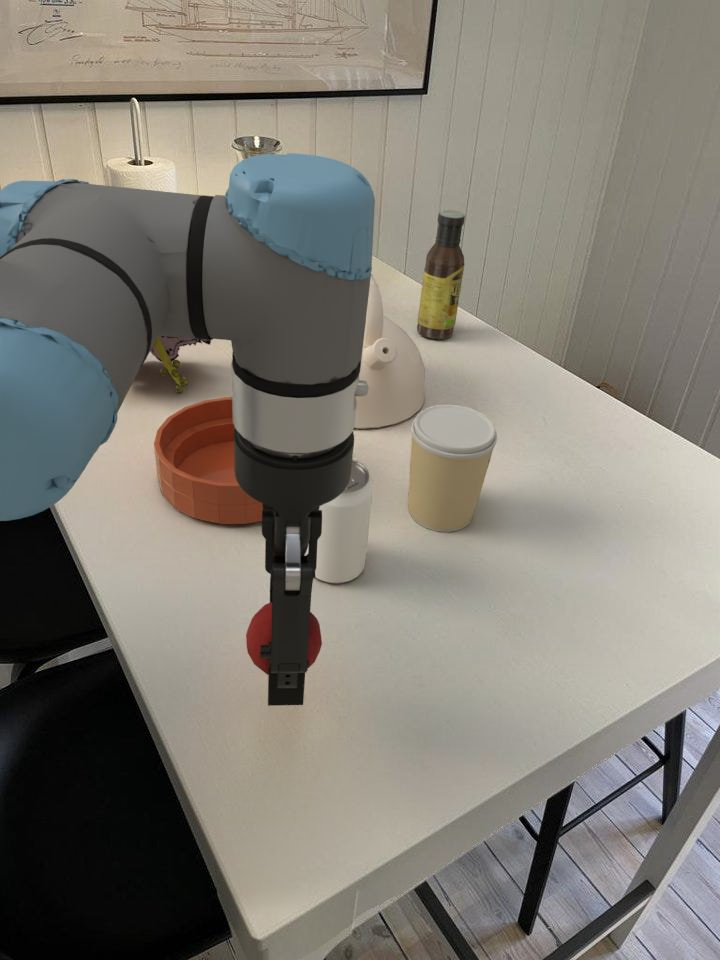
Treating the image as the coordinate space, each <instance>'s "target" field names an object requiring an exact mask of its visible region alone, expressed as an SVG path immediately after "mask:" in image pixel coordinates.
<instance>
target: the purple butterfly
mask: <svg viewBox="0 0 720 960" xmlns="http://www.w3.org/2000/svg"><path fill="white" fill-rule="evenodd" d="M198 343H199V344H203V343H204V344H205V345H207V346H210V345H211V344H212V340H205V339H191V338H179V337H168V336H158V338H157V339H156V341H155V343H154V345H153V347H152V349H151V350H150V352H149V353H151V355H152V356H154V357H155V358H156V359H157V360H158V361H159V362H160V363H162V365H163V366H164V368H161V369H160V375H161V376H162V377H167V376H168V374H170V376H171V377H172V379H173V381H174V382H175V383H176V384H177V386H175V392H176V393H177V394H181V393H183V392H184V387H186V386H187V385H188V384H189V380H188V379H187V378H186V377H185V378H184V376H183V374H181V373H180V371H179V370H178V369H177V368H179V367H180V366H181V362H180V361H179V360H178V359H177V358H178V357H180V355H179V351H180V349H181V348H180V347H186V346H192V345H194V346H196V345H197V344H198Z"/></svg>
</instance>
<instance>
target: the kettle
mask: <svg viewBox="0 0 720 960" xmlns="http://www.w3.org/2000/svg"><path fill="white" fill-rule="evenodd" d="M424 364H425V363H424V361H423V358H422V355H421V352H420V350H419V348H418V346H417V345H416V343H415V341H414V340H413V339H412V337H411V336H410V335H409V333H408V332H407V331H406V330H404V328H403V327H401V326H400V325H399V324H397V323H396V322H394V321H393V320H392V319H390V318H389V317H387V316H385V315H384V306H383V300H382V294H381V291H380V288H379V285H378V283H377V281H376V279H375V278H374V275H373V274H372V273H371V278H370V287H369V296H368V305H367V314H366V323H365V332H364V341H363V350H362V359H361V368H360V373H359V380H363V381H366V382H367V384H368V387H369V389H368V393H367V395H366V396H355V398H356V403H357V407H356V418H355V426H354V429H358V430H362V429H363V430H364V429H365V430H367V429H380V428H385V427H389V426H394V425H396V424H399V423H401V422H404V421H405V420H408V419H410V418H411V417H412V416H413V415H415V414H416V413H417V412H418V411H420V410H421V408H422V407H423V404H424V403H425V379H426V377H425V375H426V374H425V370H426V367H425V365H424Z"/></svg>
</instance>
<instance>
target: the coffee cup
mask: <svg viewBox="0 0 720 960" xmlns="http://www.w3.org/2000/svg"><path fill="white" fill-rule="evenodd" d="M410 432H411V433H410V434H411V443H410V459H409V460H410V461H409V478H408V479H409V480H408V500H407V501H408V502H407V505H408V507H407V508H408V512H409V514H410V516H411V518H412V519H413V520H414V521H415V522H416V523H417V524H418V525H420V526H421V527H424V528H426V529H428V530H431V531H434V532H435V531H436V532H442V533H446V532H447V533H449V532H456V531H459V530H462V529H464V528H466V527H467V526H468V525H470V523H471V522H472V520H473V517H474V516H475V512H476V509H477V505H478V502H479V498H480V495H481V492H482V488H483V486H484V482H485V478H486V475H487V472H488V469H489V465H490V463H491V459H492V455H493V452H494V448H495V447H496V444H497V440H498V433H497V430H496V427H495V425H494V423H493V421H492V420H491V419H490V418H489V417H487V416H486V415H485V414H484V413H482V412H480V411H479V410H476V409H473V408H470V407H467V406H464V405H457V404H437V405H432V406H428V407H426V408H424V409H422V410H421V411H420V412H419V413H417V415H416V417H415V418H414V419H413V420H412V423H411V428H410Z"/></svg>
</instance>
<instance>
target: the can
mask: <svg viewBox="0 0 720 960" xmlns="http://www.w3.org/2000/svg"><path fill="white" fill-rule="evenodd" d="M372 498H373V486H372V482H371V480H370V472H369V470H368V468H367V467H366V466H365V465H363V464H362V463H361V462H359V461H357V460H355V459H352V468H351V477H350V481H349V483H348V485H347V487H346V488H345V490H344V491H343V492H342V493H341V494H340V495H339V496H338V497H337V498H335V499H334V500H332V501H330V502H328V503H326V504H323V505H321V506H320V508H319V510H322V533H321V536H320V537H319V539H318V541H317V564H316V570H315V578H316V579H317V580H319V581H321V582H324V583H327V584H332V585H333V584H336V585H339V584H345V583H348V582H351V581H353V580H354V579H356V578H357V577H359V576H360V575H361V574H362V572H363V571H364V569H365V566H366V559H367V550H368V540H369V533H370V532H369V531H370V523H371V522H370V521H371V510H372V500H373V499H372ZM308 552H309V544H308V548H307V551H306V553H305V554H304V556H306V555H307V554H308Z"/></svg>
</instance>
